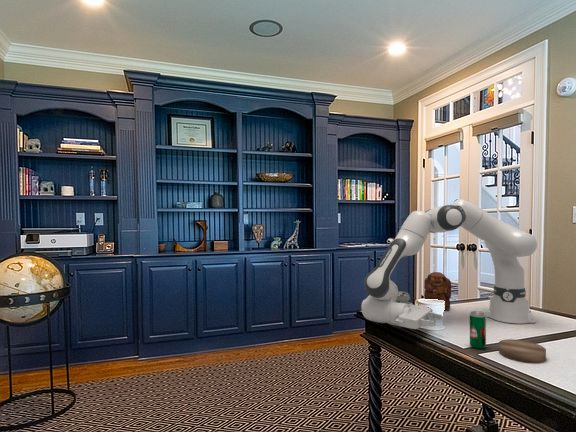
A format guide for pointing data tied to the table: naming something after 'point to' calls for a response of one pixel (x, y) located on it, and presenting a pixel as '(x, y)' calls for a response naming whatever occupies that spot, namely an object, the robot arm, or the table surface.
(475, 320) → the soda can
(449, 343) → the table surface
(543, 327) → the table surface
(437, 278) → the wooden figurine
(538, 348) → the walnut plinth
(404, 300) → the food container
